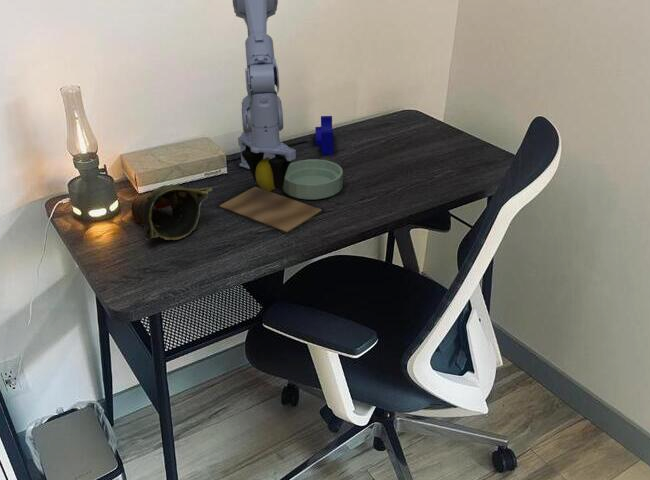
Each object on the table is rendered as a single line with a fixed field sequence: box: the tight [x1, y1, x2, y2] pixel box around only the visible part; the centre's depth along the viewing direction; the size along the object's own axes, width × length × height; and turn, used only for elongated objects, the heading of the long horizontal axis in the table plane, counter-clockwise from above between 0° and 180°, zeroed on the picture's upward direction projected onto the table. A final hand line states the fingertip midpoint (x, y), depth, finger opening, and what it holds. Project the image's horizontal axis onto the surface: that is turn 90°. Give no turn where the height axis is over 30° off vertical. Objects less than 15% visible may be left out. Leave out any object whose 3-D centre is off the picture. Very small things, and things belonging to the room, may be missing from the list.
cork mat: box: [218, 186, 323, 233], centre depth 149 cm, size 20×12×1 cm, turn 51°
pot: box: [130, 183, 213, 241], centre depth 142 cm, size 17×11×18 cm
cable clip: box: [314, 115, 334, 156], centre depth 176 cm, size 12×4×6 cm, turn 179°
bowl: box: [281, 158, 344, 200], centre depth 156 cm, size 14×14×4 cm
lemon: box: [255, 157, 276, 192], centre depth 145 cm, size 6×6×8 cm
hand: (268, 183), depth 146 cm, fingers closed on lemon, 5 cm apart
